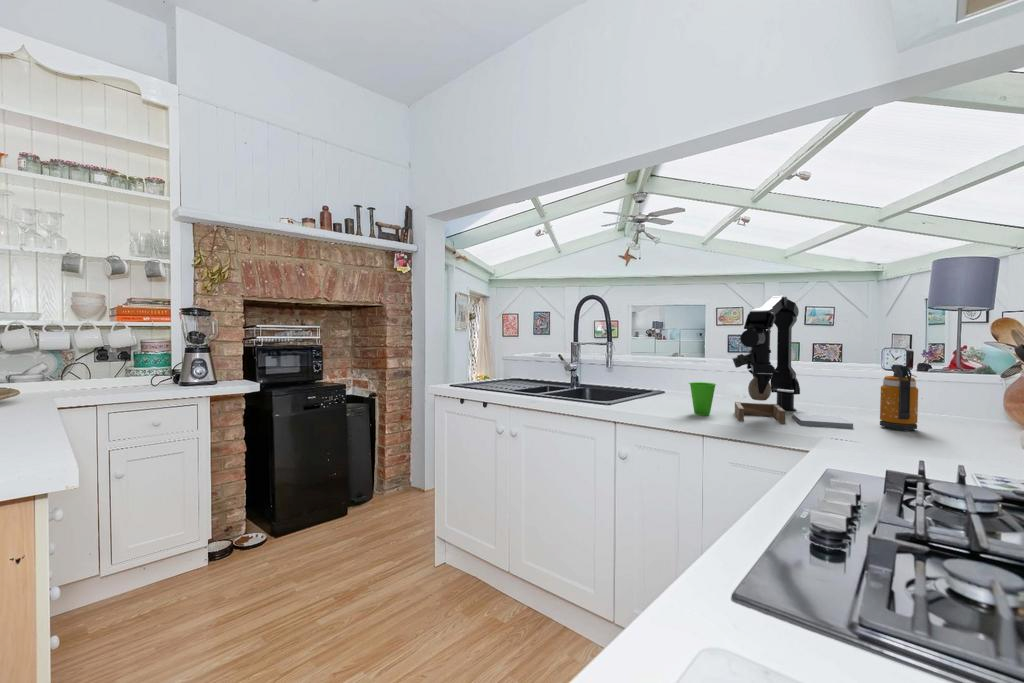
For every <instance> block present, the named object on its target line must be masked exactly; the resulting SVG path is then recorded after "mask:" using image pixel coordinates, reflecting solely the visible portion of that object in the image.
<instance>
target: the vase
mask: <svg viewBox="0 0 1024 683" xmlns="http://www.w3.org/2000/svg"><path fill="white" fill-rule="evenodd" d="M747 387H748V388H747V390H748V395H749V397H750V399H752V400H753V401H764V402H765V401H767V400H768V399H770V397H771V393H772V392H771V382H769V383H768V385H767V387H766V389H765V391H764V393H763V394H760V393H759V390H758V384H757V378H756V377H754V378H753V377H752V379H751V380H750V382H749V383H748V386H747Z"/></svg>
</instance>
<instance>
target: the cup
mask: <svg viewBox="0 0 1024 683" xmlns="http://www.w3.org/2000/svg"><path fill="white" fill-rule="evenodd" d="M688 384H689V387H690V393H691V399H692V407H693V412H694V414H695V415H697V416H710V414H711V411H712V404H713V401H714V394H715V389H716V386H717V384H716V383H714V382H705V381H704V382H703V381H700V382H699V381H693V382H688Z"/></svg>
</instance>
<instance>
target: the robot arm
mask: <svg viewBox="0 0 1024 683" xmlns="http://www.w3.org/2000/svg"><path fill="white" fill-rule="evenodd" d="M798 317H799V307H798V306H797V304H796V302H794V301H792V300H790V299H788V297H787V296H785V295H774V296H770V297H769V300H768V301H766V302H765V303H764V304H763V305H762V306H761V307H757V308H753V309H750V311H749V313H747V316H746V320H745V323H744V326H743V329H744V331H743V332H742V333H741V335H740V338H739V339H740V342H741V344H742V345H743V346H744V347H745V348H746V347H747V348H749V350H748V353H745V354H743V353H740V354H737V355H736V356H735V357H733V358H731V359H732V362H733V364H734V367H735V368H740V367H742V366H746V369H747V371H748V372H749V373H750V374H751V375H752V379H753V378H754V377H756V378H757V384H758V390H759V393H760V394H763V393H764V391H765V389H766V387H767V385H768V383H770V385H771V393H776V404H778V405H779V406H780V407H781V408H782V409H783V410H785V411H794V412H795V411H797V408H795V395H796V396H797V395H801V387H800V383H799V380H798V378H797V373H796V372H795V370H794V369H793V367H792V338H793V337H792V335H793V334H792V328H793V326H794V325H795V323H797V320H798ZM774 325H775V326H776V328H777V335H776V336H777V340H776V341H777V342H776V343H777V346H776V347H777V350H776V352H777V353H776V354H777V355H776V360H777V361H776V367H775V366H774V365H773V364H772V362H771V361H770V360H771V357H770V356H771V353H772V350H771V332H772V330H771V329H772V328H773V327H774Z"/></svg>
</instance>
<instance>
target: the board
mask: <svg viewBox="0 0 1024 683" xmlns="http://www.w3.org/2000/svg"><path fill="white" fill-rule="evenodd" d="M791 418H792V419H793V421H796V422H797V423H798V424H799V425H800V426H812V427H826V428H839V429H841V428H842V429H854V423H853V422H852V421H850V420H847V419H846V418H844V417H842V416H841V415H834V414H833V415H831V414H813V413H800V412H799V413H798V412H797V413H796V412H792V413H791Z"/></svg>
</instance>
